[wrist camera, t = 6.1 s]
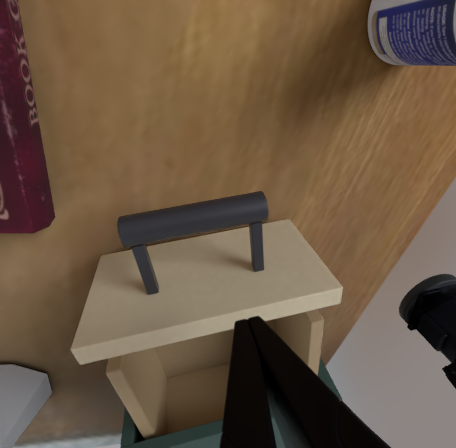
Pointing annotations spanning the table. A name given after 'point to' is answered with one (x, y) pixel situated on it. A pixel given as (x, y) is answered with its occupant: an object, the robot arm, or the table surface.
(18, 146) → the book
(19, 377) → the flask
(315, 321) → the drawer
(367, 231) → the table surface
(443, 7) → the pill bottle
